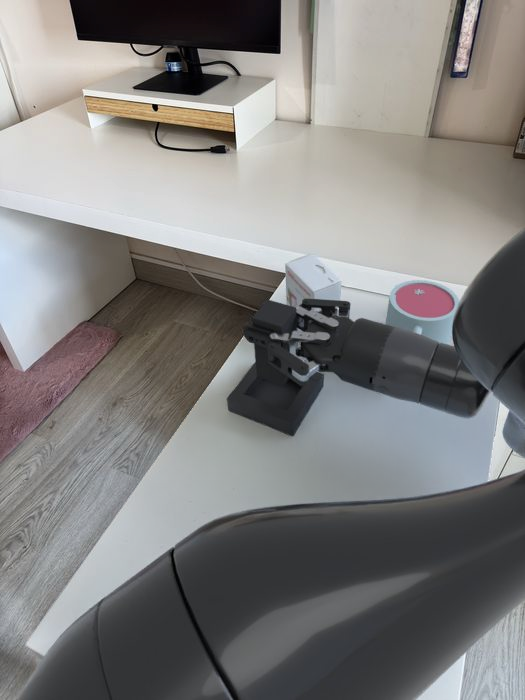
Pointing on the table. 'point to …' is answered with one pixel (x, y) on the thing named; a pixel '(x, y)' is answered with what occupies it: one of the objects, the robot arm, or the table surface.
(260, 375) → the block
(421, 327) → the mug
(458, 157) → the table surface
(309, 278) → the ink box
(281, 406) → the base pad
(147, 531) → the table surface
